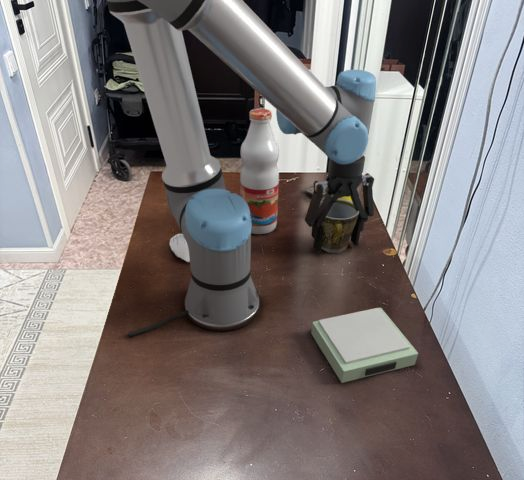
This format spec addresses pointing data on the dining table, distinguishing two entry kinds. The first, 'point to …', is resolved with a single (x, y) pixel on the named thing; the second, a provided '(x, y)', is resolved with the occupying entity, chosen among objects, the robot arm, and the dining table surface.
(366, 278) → the dining table surface
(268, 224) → the fruit juice
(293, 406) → the dining table surface
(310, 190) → the rock sample
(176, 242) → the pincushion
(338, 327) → the kitchen scale
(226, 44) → the robot arm
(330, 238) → the ceramic cup
